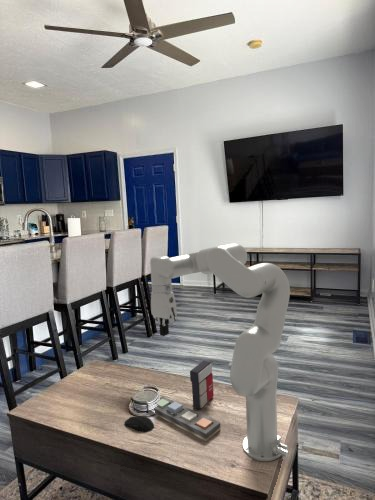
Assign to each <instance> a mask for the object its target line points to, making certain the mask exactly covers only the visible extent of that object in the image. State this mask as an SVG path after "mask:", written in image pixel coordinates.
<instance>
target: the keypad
mask: <svg viewBox="0 0 375 500" xmlns="http://www.w3.org/2000/svg"><path fill="white" fill-rule="evenodd" d="M159 398H160V400H161V399H164V400H166V401H169V402H170V404H172V403H173V402H175V401H174V400H172V399H169V398H167V397H165V396H161V397H159ZM170 404H169V405H170ZM154 410H155V413H156V414H155V416H158V417H160V418H161V419H163V420H165V421H167V422H169V423H171V424H172V425H174V426H176V427H178V428H180V429H182V430H184V431H185V432H187V433H190V434H192V435H193V436H195V437H196V438H197V437H198V438H199V439H200V440H203V441H206V442H207V441H208V440H210V439H211V438H212V437H213V436H214V435H216V434H217V433H218V432H219V431H220V430H222V429H221V422H220V421H218V420H216V419H214V418H212V417H209V416H207V415H205V414H202V413H200V412H198V411H196V410H194V409H192V408H189V407H187V406H185V405H183V410H182V411H181V412H179V413H177V414H176V415H175V414H173V413H171V412H168V407H167V406H166V407H164V408H163V409H161V408H159V407H155V408H154ZM188 411H190V412H192V413H194V414H197V418H195V419H194V420H192V421H191V422H188V421H186V420H184V419H182V418H181V416H182V415H183V414H185V413H186V412H188ZM202 418H205V419H207V420H210V421H212V425H211V426H210V427H208V428H207V429H206V430H204V429H202V428H200V427H198V426H196V423H197V422H198V421H199V420H201V419H202Z"/></svg>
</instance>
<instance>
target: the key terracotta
mask: <svg viewBox="0 0 375 500" xmlns="http://www.w3.org/2000/svg"><path fill="white" fill-rule="evenodd" d="M211 425H212V421H210V420H207V419H205V418H202V419H201V420H199V421H198V422H197V423H196V426H198V427H200V428H202V429H204V430H206V429H207V428H208V427H210V426H211Z"/></svg>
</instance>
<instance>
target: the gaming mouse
mask: <svg viewBox="0 0 375 500" xmlns="http://www.w3.org/2000/svg"><path fill="white" fill-rule="evenodd" d="M123 425H124V426H125V427H126V428H129V429H132V430H135V431H137V432H139V433H149V432H150V431H152V430H153V429H154V428H155V424H154V422H153V421H152V419H151V418H149V417H147V416H146V415H145V416H144V415H139V416H137V415H136V416H134V415H133V416H130V417H129V418H127V419H126V420H125V421H124V424H123Z"/></svg>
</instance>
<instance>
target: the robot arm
mask: <svg viewBox="0 0 375 500" xmlns="http://www.w3.org/2000/svg"><path fill="white" fill-rule="evenodd" d="M247 260H248V252H247V249H246V248H244V246H242V245H240V244H238V243H227V244H222V245H218V246H214V247H208V248H203V249H201V250H199V251H197V252H192V253H187V254H181V255H177V256H172V257H169V256H167V255H156V256H153V257H151V258H150V260H149V261H150V279H151V280H150V281H151V295H150V311H151V315H152V317H153V319H155V320H156V321H157V324H158V326H159V335H160V336H161V337H164V336H167V335H169V334H170V333H169V332H170V329H169V325H170V324H171V323H173V322H175V317H177V316H178V313H177V312H178V311H177V303H176V297H175V293H174V291H173V287H172V286H173V285H172V279H176V278H180V277H182V276H187V275H191V274H197V273H202V274H203V275H210V274H213V275H214V276H215V277H216V278H218V280H220V281H221V282H222V283H224V284H225V285H226V286H227V287H229V289H231V290H232V291H233V292H235V293H236V294H237V295H239V296H240V297H243V298H250V299H251V298H255V297H257V296H260V295H261V294H262V295H261V298H260V300H259V303H258V305H257V308H256V315H255V318H254V322H253V324H252V326H251V327H248V328H247V329H245V330H243V332H242V333H240V334H239V336H238V337H237V339H236V340H235V344H234V349H233V354H232V360H231V365H230V373H229V380H230V384H231V387H232V389H233V390H234V392H235V393H237V395H239V396H241V397H245V408H246V409H245V410H246V411H245V413H246V414H245V415H246V418H245V419H246V437H244V438H243V441H242V449H243V452H244V453H245V454H246V455H247V456H249V457H251V459H252V460H255V461H259V462H272V461H275V460H276V459H279V458H280V457H281V456H282V457H285V458H288V456H289V455H290V453H289V450H288V449H289V446H288V445H287V444H285V443H282V442H281V441H282V440H281V436H280V435H278V416H277V415H278V411H277V409H278V407H277V405H278V403H277V399H278V398H277V397H278V396H277V391H278V390H277V388H278V380H279V365H278V361H277V359H276V357H275V356H273V354H274V353H275V352H276V351H277V350H278V349H279V348H280V346H281V342H282V337H283V332H284V327H285V326H284V325H285V323H286V322H285V321H286V315H287V311H288V306H289V303H290V297H291V296H290V295H291V288H290V281H289V279H288V277H287V275H286V274H285V272H284V271H283V270H282V269H281V268H280V267H279V266H277V265H276V264H274V263H271V262H270V263H269V262H262V263H257V264H254V265H251V266H245V265H246V263H247Z"/></svg>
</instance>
